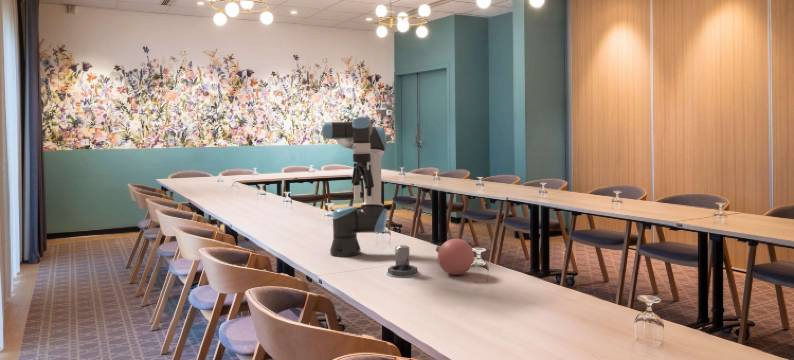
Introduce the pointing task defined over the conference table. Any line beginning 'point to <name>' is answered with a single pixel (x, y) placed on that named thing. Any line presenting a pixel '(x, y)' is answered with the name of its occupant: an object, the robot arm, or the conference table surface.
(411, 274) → the ring plate
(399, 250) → the cylinder
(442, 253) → the terracotta rubber ball
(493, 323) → the conference table surface
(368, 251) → the conference table surface
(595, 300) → the conference table surface
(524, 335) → the conference table surface
